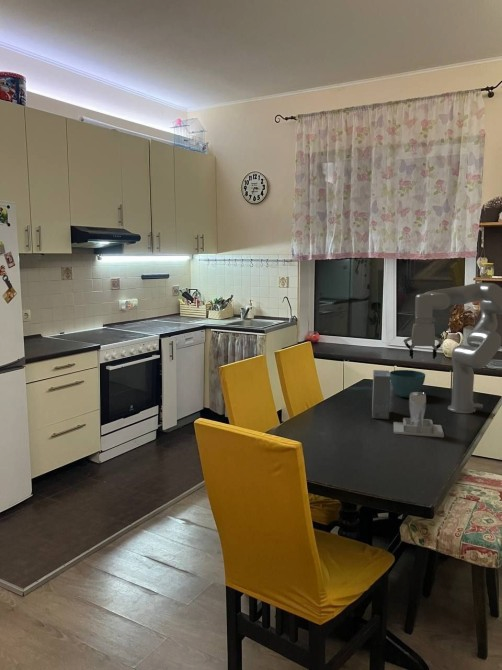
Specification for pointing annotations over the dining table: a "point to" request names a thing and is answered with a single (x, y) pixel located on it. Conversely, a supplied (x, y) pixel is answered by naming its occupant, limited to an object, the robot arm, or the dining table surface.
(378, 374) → the hard drive box
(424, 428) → the tray
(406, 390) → the teal bowl
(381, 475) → the dining table surface
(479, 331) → the robot arm
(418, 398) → the beer glass
